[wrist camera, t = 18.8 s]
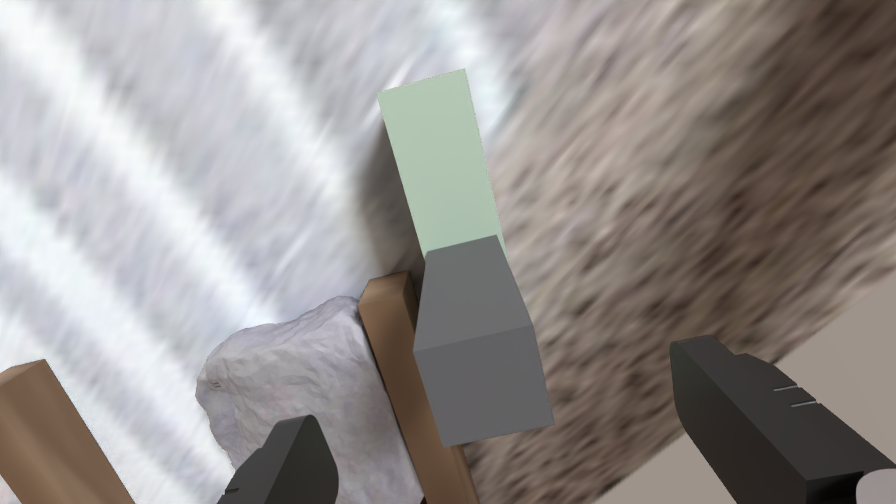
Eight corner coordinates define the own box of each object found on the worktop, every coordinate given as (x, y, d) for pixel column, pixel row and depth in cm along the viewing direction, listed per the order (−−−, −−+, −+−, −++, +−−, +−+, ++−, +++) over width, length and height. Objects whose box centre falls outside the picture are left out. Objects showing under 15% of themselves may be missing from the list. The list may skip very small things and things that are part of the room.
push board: (394, 97, 19) (313, 75, 8) (460, 79, 19) (481, 27, 7) (468, 366, 23) (488, 614, 12) (523, 354, 23) (599, 594, 11)
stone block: (303, 477, 28) (448, 464, 25) (257, 548, 23) (428, 543, 21) (224, 314, 25) (379, 279, 22) (154, 361, 20) (338, 324, 17)
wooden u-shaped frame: (408, 270, 21) (402, 295, 18) (481, 510, 26) (485, 560, 23) (10, 367, 23) (-52, 403, 20) (148, 576, 28) (113, 629, 25)
